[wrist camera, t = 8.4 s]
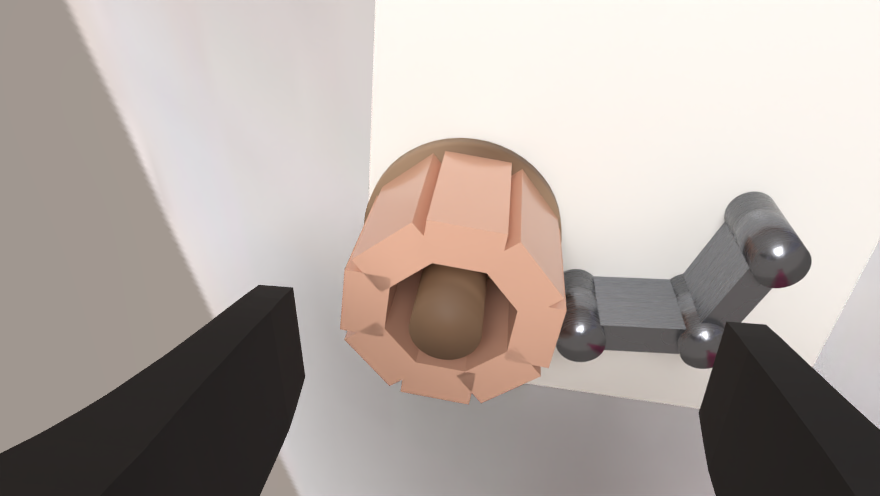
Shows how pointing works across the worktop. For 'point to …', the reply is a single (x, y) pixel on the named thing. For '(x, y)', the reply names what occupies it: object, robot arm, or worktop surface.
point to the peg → (449, 288)
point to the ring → (467, 247)
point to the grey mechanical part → (687, 291)
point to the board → (656, 138)
